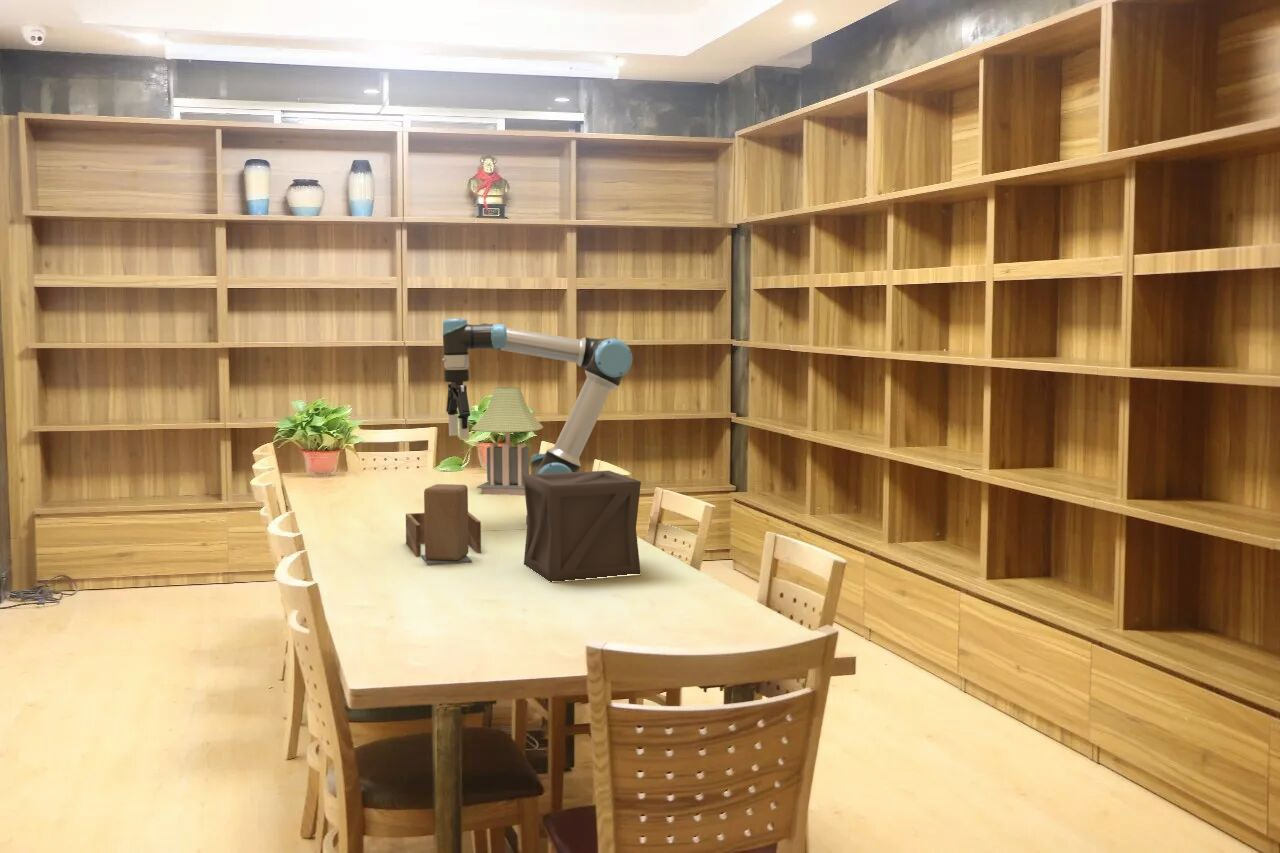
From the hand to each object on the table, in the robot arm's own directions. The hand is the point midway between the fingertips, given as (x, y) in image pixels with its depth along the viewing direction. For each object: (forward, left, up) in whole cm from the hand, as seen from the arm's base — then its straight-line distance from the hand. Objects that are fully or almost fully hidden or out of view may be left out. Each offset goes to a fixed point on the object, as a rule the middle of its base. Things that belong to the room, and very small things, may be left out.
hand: (458, 437), depth 387 cm
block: (+11, +40, -30) cm, 51 cm away
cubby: (+9, +22, -30) cm, 39 cm away
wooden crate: (-21, +65, -30) cm, 75 cm away
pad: (+11, +40, -30) cm, 51 cm away
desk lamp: (-34, -85, -30) cm, 97 cm away
